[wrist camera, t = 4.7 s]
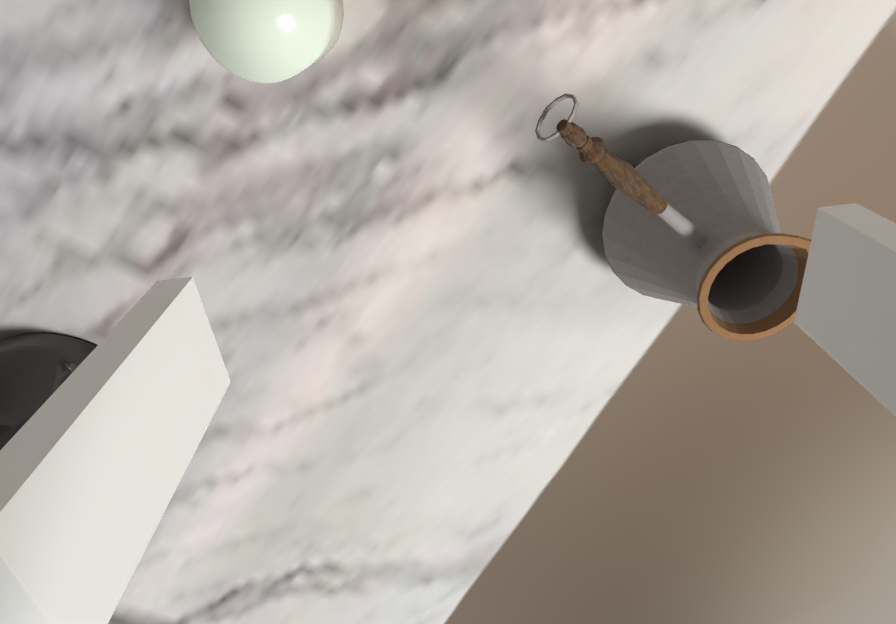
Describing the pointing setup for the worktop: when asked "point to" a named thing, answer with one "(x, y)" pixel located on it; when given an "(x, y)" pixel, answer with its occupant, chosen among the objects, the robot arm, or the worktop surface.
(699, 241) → the coffee pot
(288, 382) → the worktop surface
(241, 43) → the green jar
